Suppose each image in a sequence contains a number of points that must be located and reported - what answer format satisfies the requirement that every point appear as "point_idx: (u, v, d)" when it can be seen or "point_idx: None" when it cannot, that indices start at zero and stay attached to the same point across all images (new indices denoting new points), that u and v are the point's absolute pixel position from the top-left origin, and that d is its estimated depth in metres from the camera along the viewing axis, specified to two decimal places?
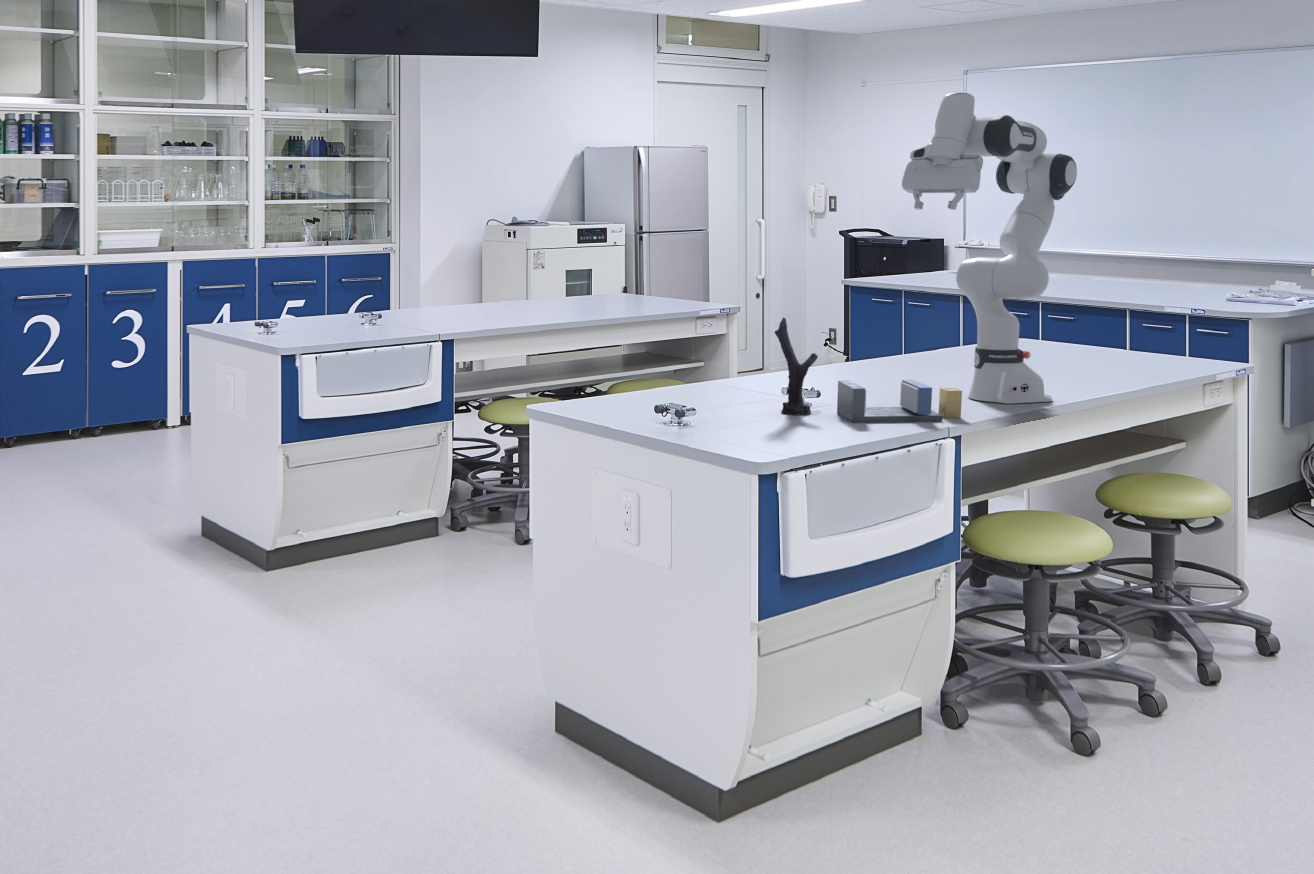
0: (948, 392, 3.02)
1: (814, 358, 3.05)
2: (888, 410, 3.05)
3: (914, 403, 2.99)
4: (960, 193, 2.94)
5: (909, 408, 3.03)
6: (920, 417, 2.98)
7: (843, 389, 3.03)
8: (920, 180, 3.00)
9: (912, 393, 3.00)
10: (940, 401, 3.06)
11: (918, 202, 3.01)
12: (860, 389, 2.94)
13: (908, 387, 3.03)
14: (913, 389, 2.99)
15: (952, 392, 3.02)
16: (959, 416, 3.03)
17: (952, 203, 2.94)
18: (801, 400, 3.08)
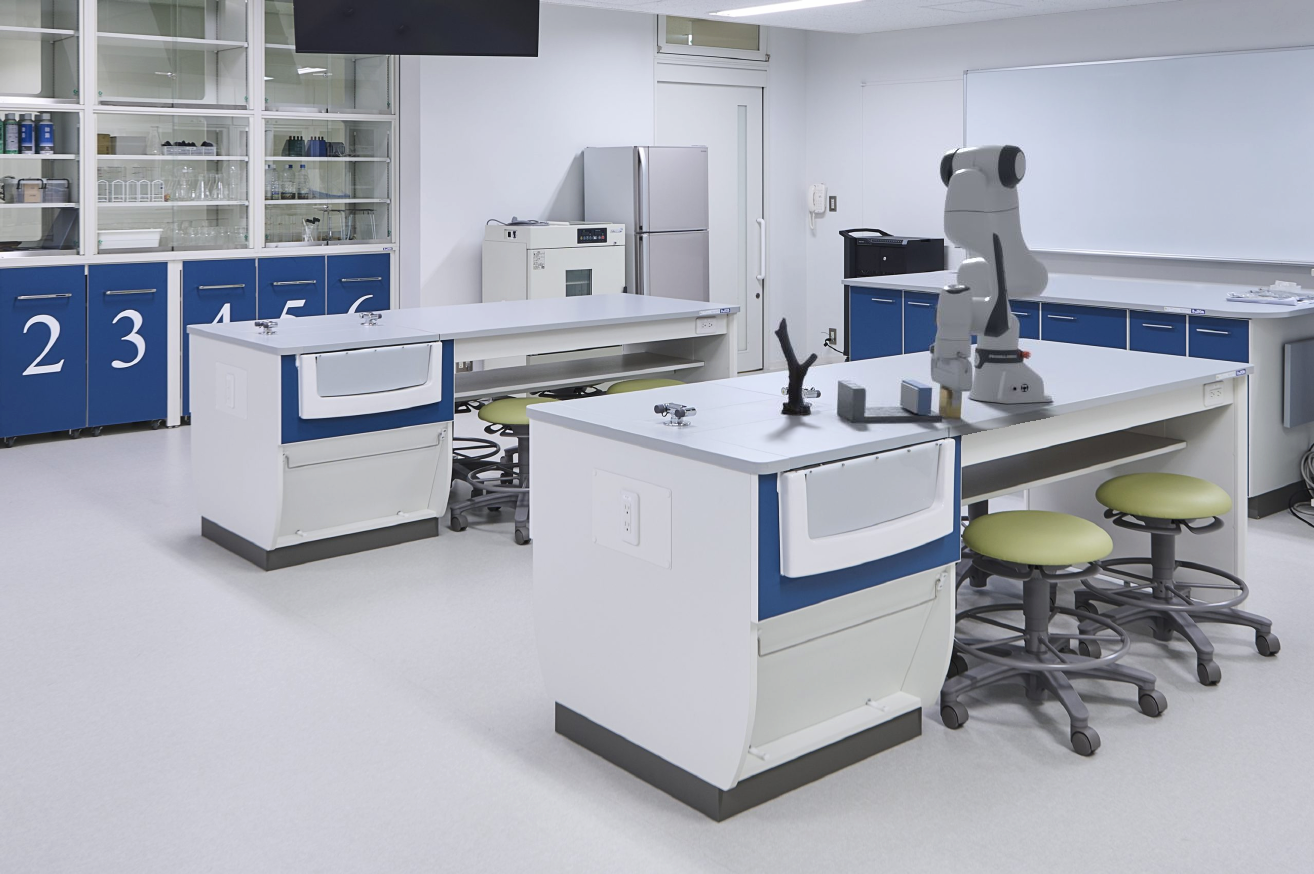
0: (948, 392, 3.02)
1: (814, 358, 3.05)
2: (888, 410, 3.05)
3: (914, 403, 2.99)
4: (955, 393, 3.00)
5: (909, 408, 3.03)
6: (920, 417, 2.98)
7: (843, 389, 3.03)
8: (938, 375, 3.08)
9: (912, 393, 3.00)
10: (940, 401, 3.06)
11: None
12: (860, 389, 2.94)
13: (908, 387, 3.03)
14: (913, 389, 2.99)
15: None
16: (959, 416, 3.03)
17: (952, 402, 3.01)
18: (801, 400, 3.08)
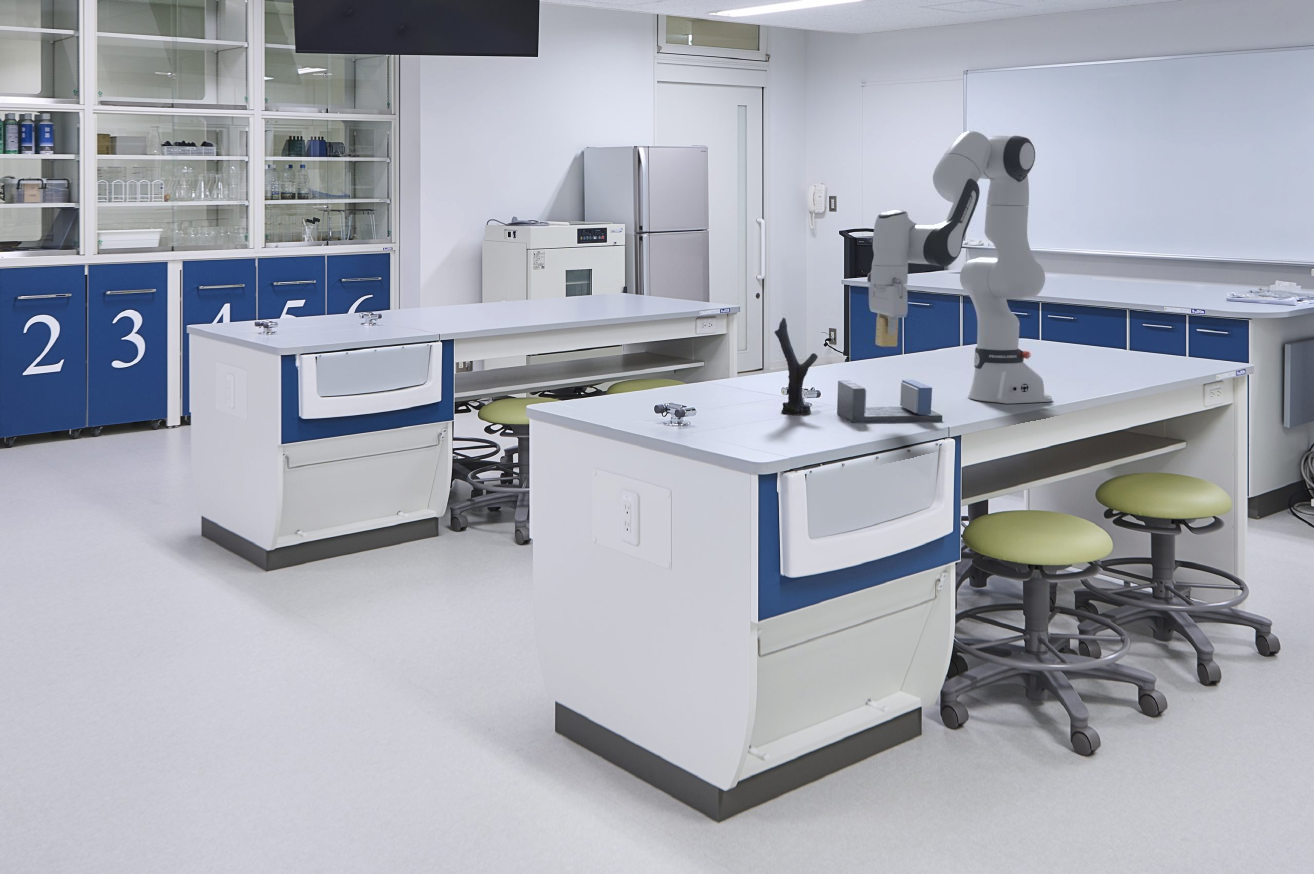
0: (884, 319, 2.96)
1: (814, 358, 3.05)
2: (888, 410, 3.05)
3: (914, 403, 2.99)
4: (890, 320, 2.94)
5: (909, 408, 3.03)
6: (920, 417, 2.98)
7: (843, 389, 3.03)
8: (875, 304, 3.03)
9: (912, 393, 3.00)
10: (877, 330, 3.01)
11: None
12: (860, 389, 2.94)
13: (908, 387, 3.03)
14: (913, 389, 2.99)
15: None
16: (895, 344, 2.98)
17: (888, 330, 2.96)
18: (801, 400, 3.08)
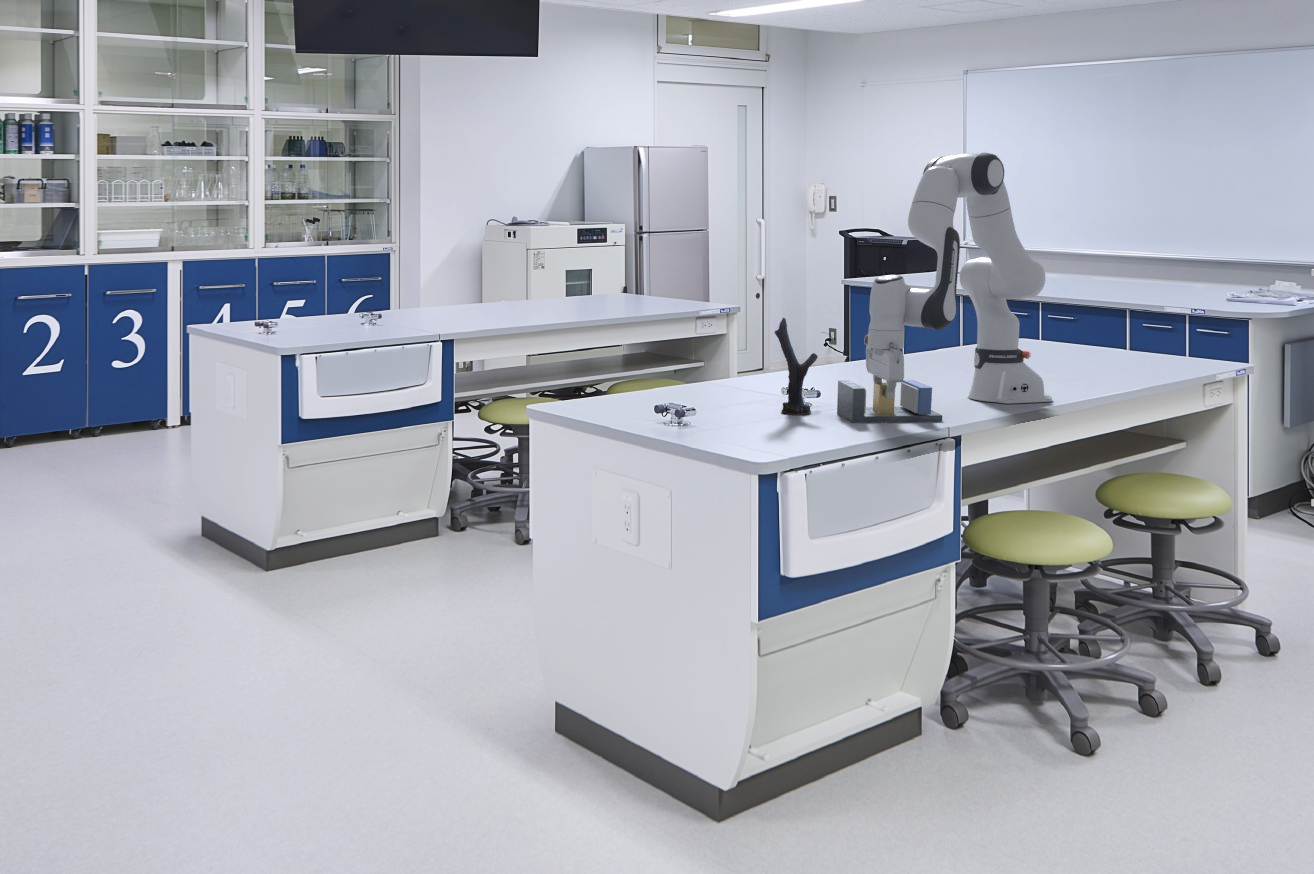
0: (881, 387, 3.00)
1: (814, 358, 3.05)
2: None
3: (914, 403, 2.99)
4: (889, 384, 2.96)
5: (909, 408, 3.03)
6: (920, 417, 2.98)
7: (843, 389, 3.03)
8: (872, 366, 3.06)
9: (912, 393, 3.00)
10: (874, 396, 3.04)
11: None
12: (860, 389, 2.94)
13: (908, 387, 3.03)
14: (913, 389, 2.99)
15: (885, 387, 3.00)
16: (892, 411, 3.01)
17: (886, 394, 2.98)
18: (801, 400, 3.08)
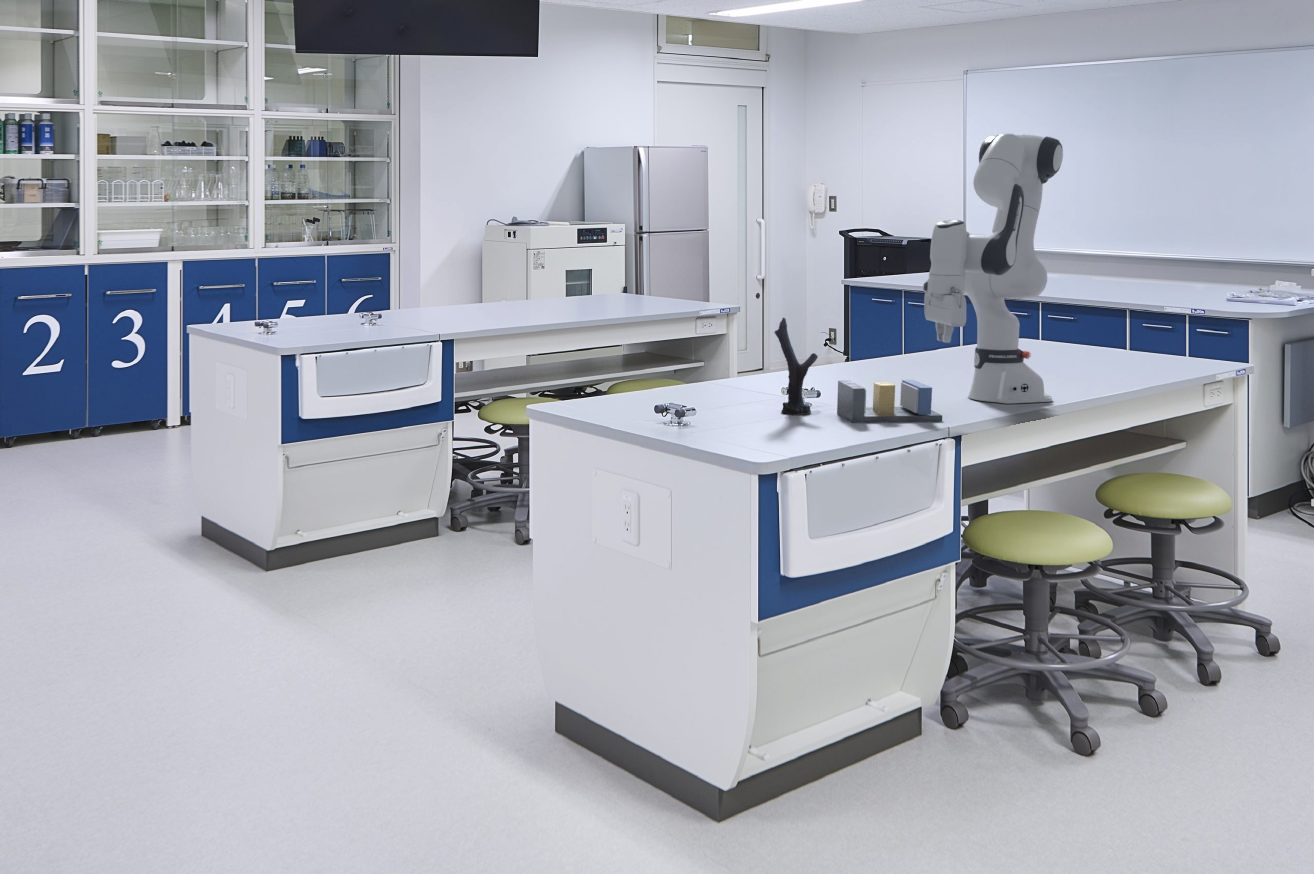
0: (881, 387, 3.00)
1: (814, 358, 3.05)
2: None
3: (914, 403, 2.99)
4: (946, 328, 2.98)
5: (909, 408, 3.03)
6: (920, 417, 2.98)
7: (843, 389, 3.03)
8: (931, 313, 3.05)
9: (912, 393, 3.00)
10: (874, 396, 3.04)
11: (938, 335, 3.03)
12: (860, 389, 2.94)
13: (908, 387, 3.03)
14: (913, 389, 2.99)
15: (885, 387, 3.00)
16: (892, 411, 3.01)
17: (943, 338, 2.99)
18: (801, 400, 3.08)
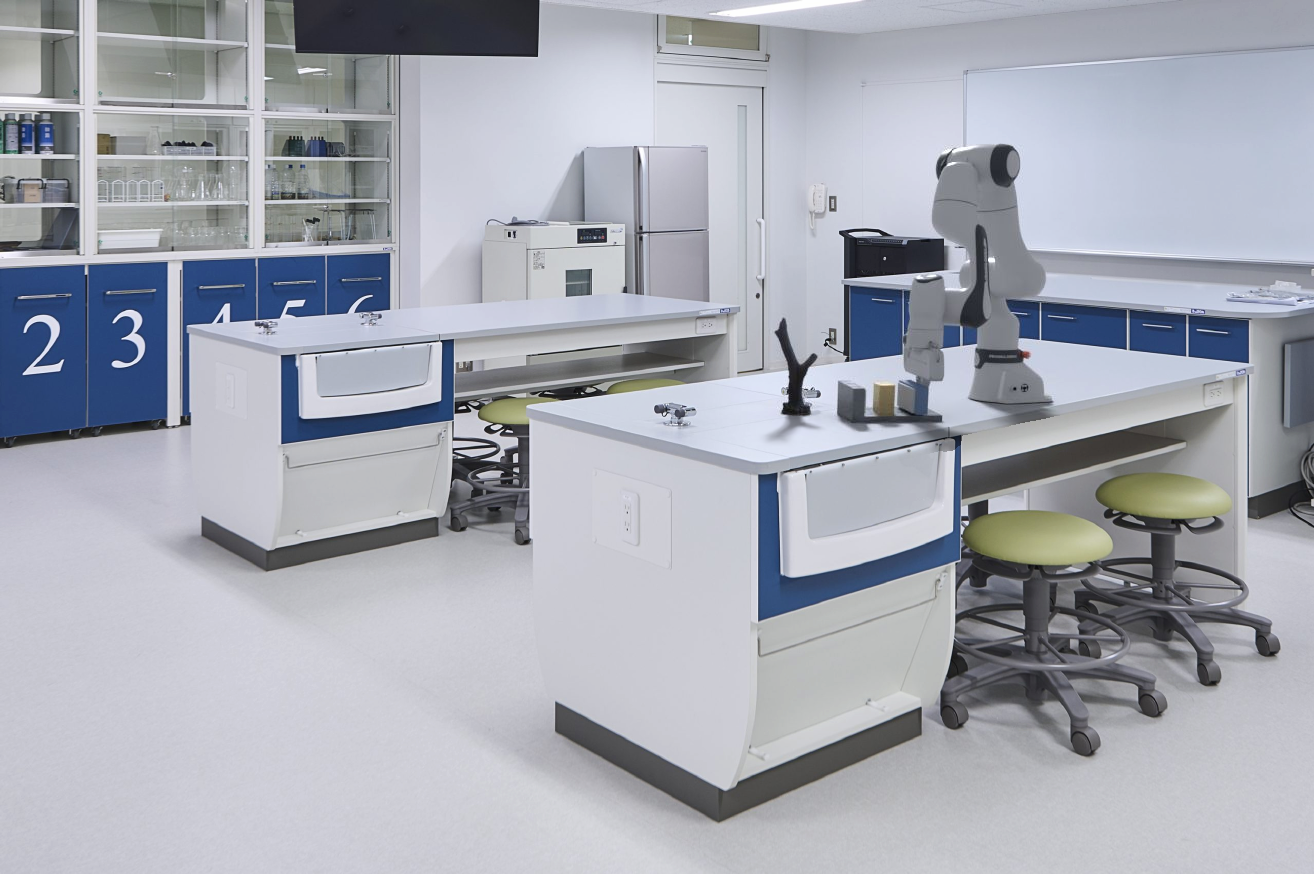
0: (881, 387, 3.00)
1: (814, 358, 3.05)
2: None
3: (911, 403, 2.99)
4: (923, 381, 3.00)
5: (906, 408, 3.03)
6: (920, 417, 2.98)
7: (843, 389, 3.03)
8: (910, 365, 3.07)
9: (909, 393, 3.00)
10: (874, 396, 3.04)
11: None
12: (860, 389, 2.94)
13: (905, 387, 3.03)
14: (910, 389, 2.99)
15: (885, 387, 3.00)
16: (892, 411, 3.01)
17: None
18: (801, 400, 3.08)
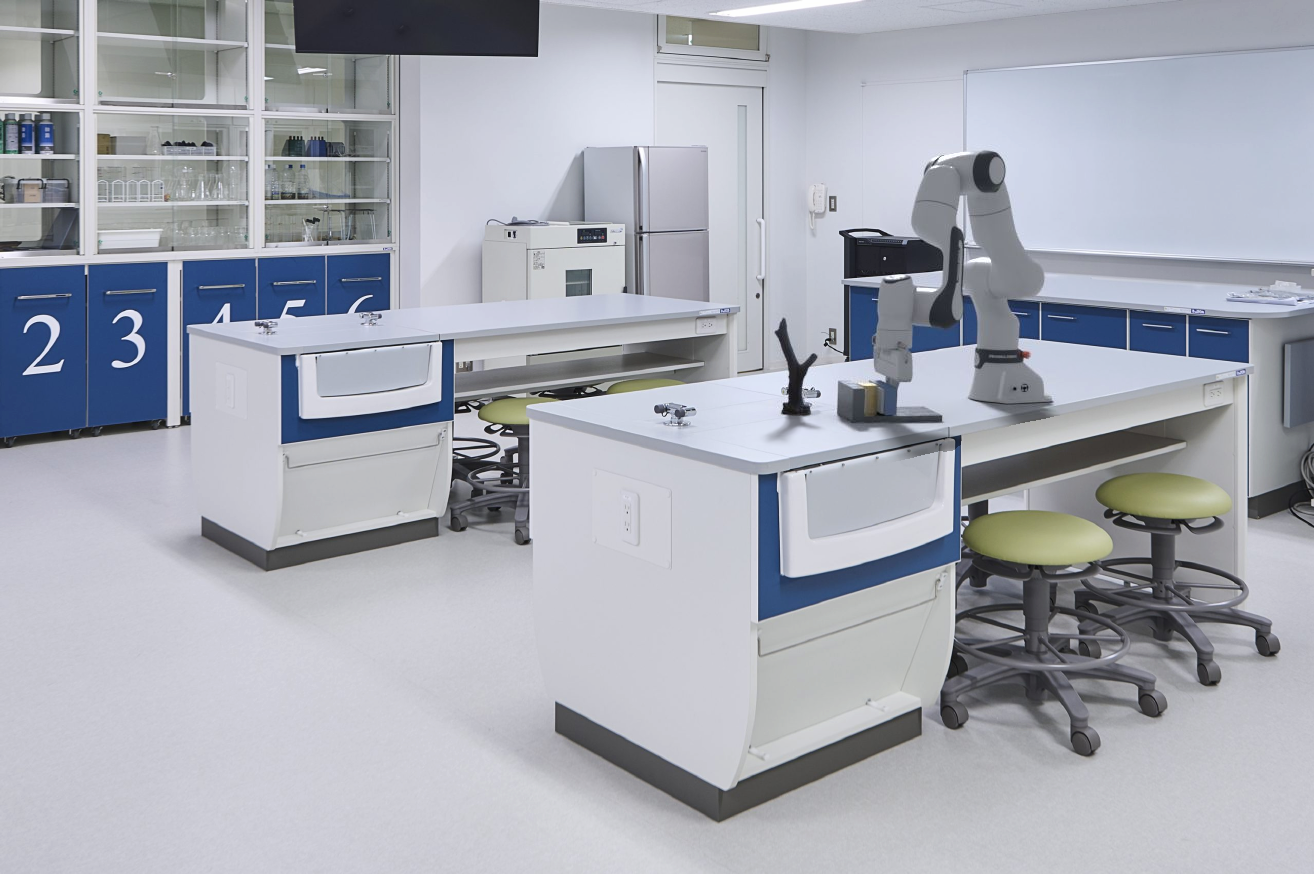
0: (864, 387, 2.99)
1: (814, 358, 3.05)
2: None
3: (880, 403, 2.98)
4: (892, 382, 2.99)
5: None
6: (920, 417, 2.98)
7: (843, 389, 3.03)
8: (880, 366, 3.06)
9: (878, 393, 2.99)
10: None
11: None
12: (860, 389, 2.94)
13: None
14: (879, 389, 2.98)
15: (868, 387, 2.99)
16: (875, 411, 3.01)
17: None
18: (801, 400, 3.08)
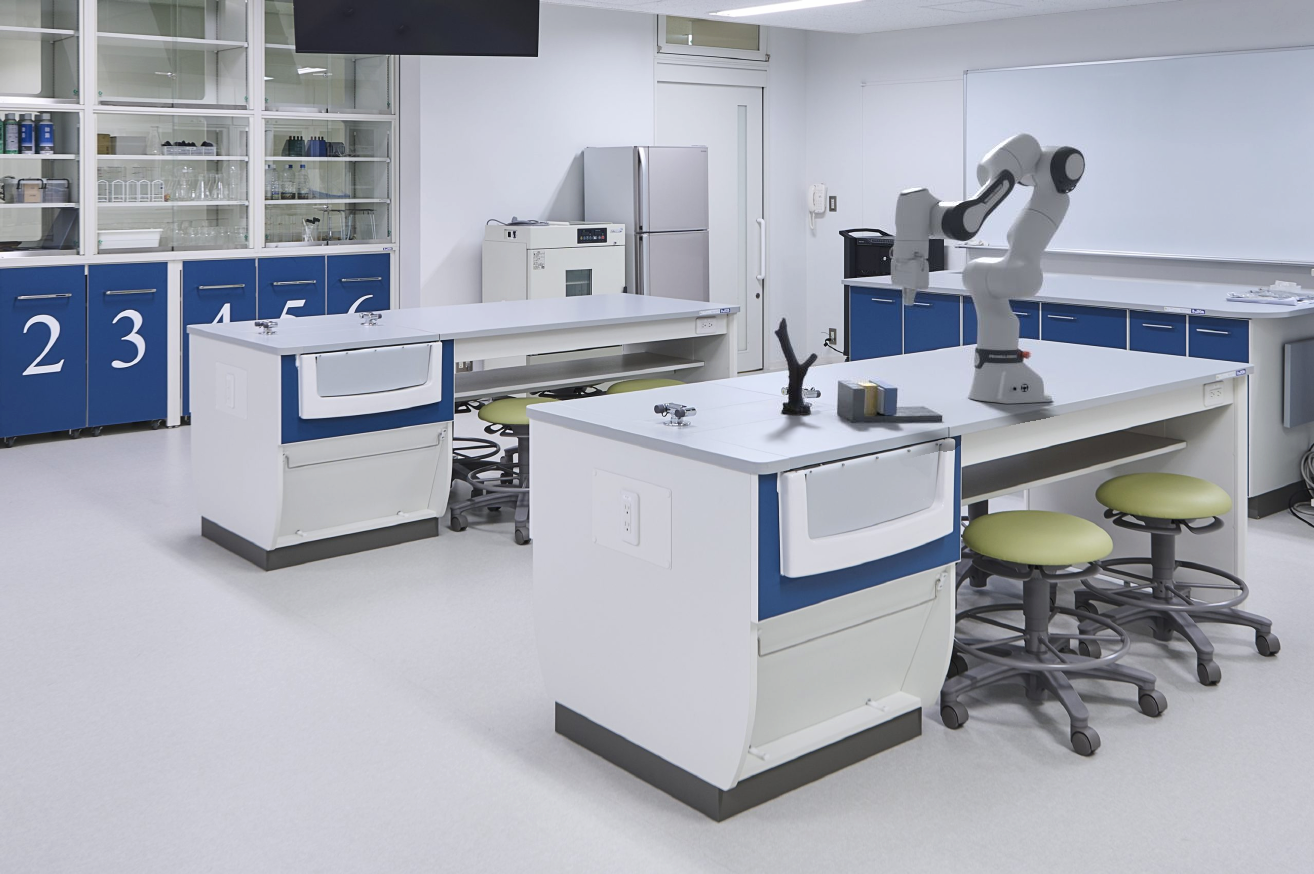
0: (864, 387, 2.99)
1: (814, 358, 3.05)
2: None
3: (880, 403, 2.98)
4: (909, 291, 3.11)
5: None
6: (920, 417, 2.98)
7: (843, 389, 3.03)
8: (897, 278, 3.18)
9: (878, 393, 2.99)
10: None
11: (905, 299, 3.15)
12: (860, 389, 2.94)
13: None
14: (879, 389, 2.98)
15: (868, 387, 2.99)
16: (875, 411, 3.01)
17: (906, 301, 3.13)
18: (801, 400, 3.08)
